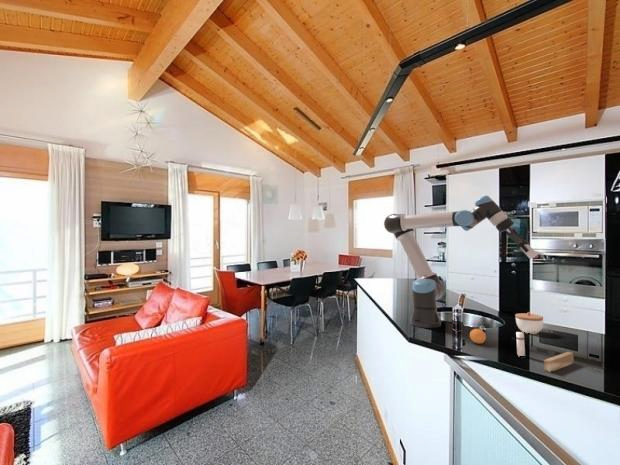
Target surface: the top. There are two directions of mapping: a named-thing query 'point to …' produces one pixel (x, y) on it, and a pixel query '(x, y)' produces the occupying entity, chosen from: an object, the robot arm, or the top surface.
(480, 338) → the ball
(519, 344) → the pin
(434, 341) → the top surface
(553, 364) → the wall
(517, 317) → the lidded jar
